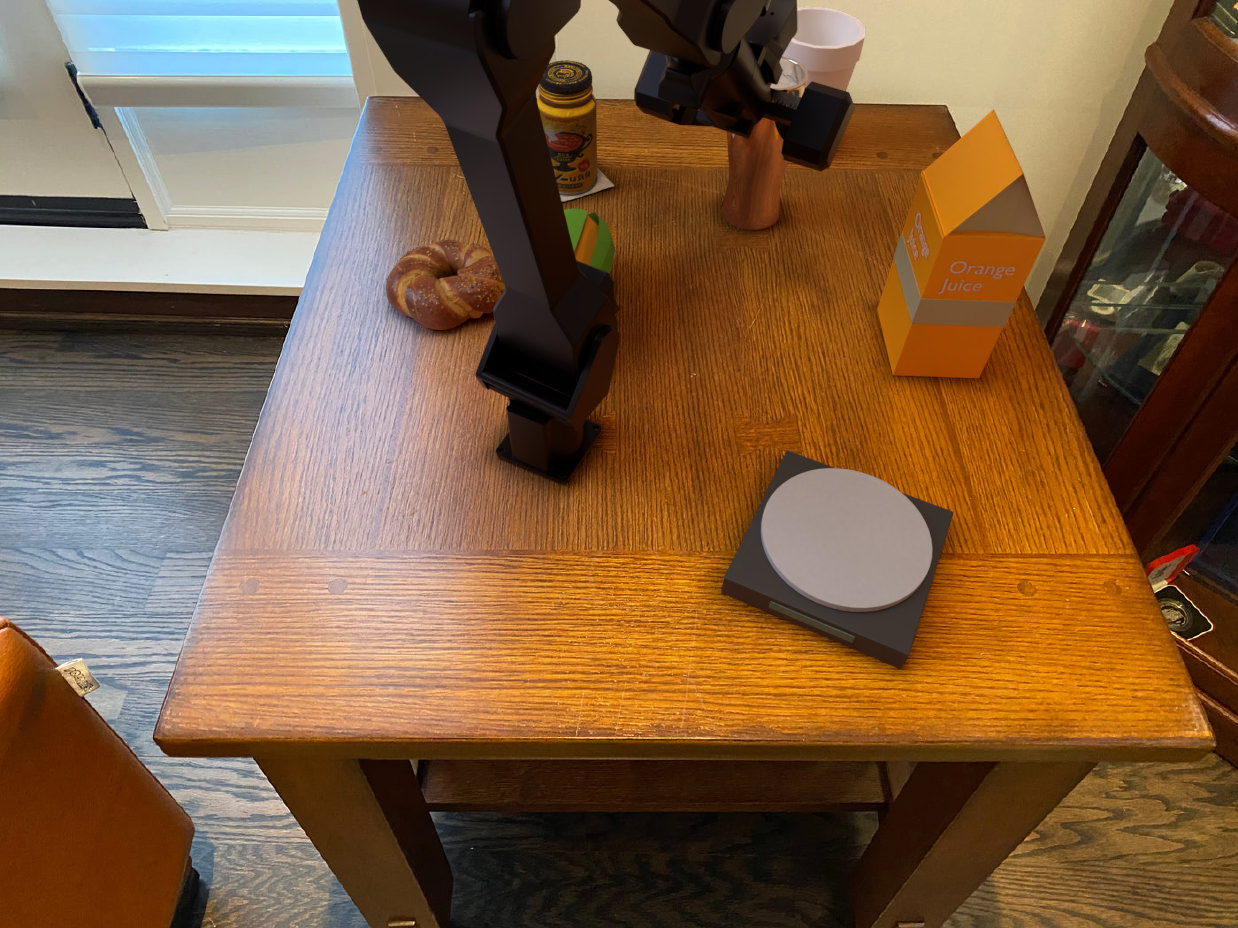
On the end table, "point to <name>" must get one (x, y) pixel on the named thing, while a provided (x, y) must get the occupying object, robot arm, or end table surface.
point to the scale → (841, 556)
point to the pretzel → (445, 284)
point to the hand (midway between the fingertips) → (760, 134)
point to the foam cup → (827, 45)
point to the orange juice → (960, 258)
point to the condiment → (571, 128)
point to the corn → (590, 239)
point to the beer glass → (760, 162)
